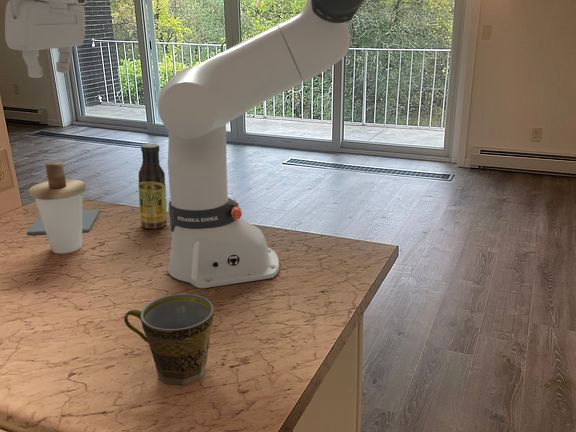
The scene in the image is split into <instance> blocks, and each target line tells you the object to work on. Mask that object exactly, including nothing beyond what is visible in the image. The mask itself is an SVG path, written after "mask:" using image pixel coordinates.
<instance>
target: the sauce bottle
mask: <svg viewBox="0 0 576 432" xmlns="http://www.w3.org/2000/svg"><path fill="white" fill-rule="evenodd" d="M140 148H141V149H140V151H141V154H142V164H141V167H140V169H139V171H138V184H137V185H138V199H139V200H138V201H139V217H140V218H139V220H140V224H141V227H143V228H144V229H149V230H153V229H154V230H155V229H161V228H163V227H165V226H166V224H167V219H168V217H167V216H168V215H167V213H168V212H167V191H166V190H167V189H166V175H165V171H164V169H162V167H161V165H160V156H159V155H160V145H159V144H157V143H144V144H141V147H140Z"/></svg>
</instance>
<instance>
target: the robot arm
mask: <svg viewBox="0 0 576 432" xmlns="http://www.w3.org/2000/svg"><path fill="white" fill-rule="evenodd" d="M364 2H365V0H306V3H305V6H304V7H303V8H302V9H301V10H300V11H299V12H298V13H297V14H295V15H294V16H292V17H290V18H287V20H284V21H281V22H280V23H277V24H276V25H273V26H272V27H270V28H267V29H266V30H264V31H261V32H260V33H257V34H256V35H254V36H251V37H249V38H247V39H245V40H242V41H241V42H239V43H237V44H235V45H233V46H231V47H230V48H229V47H228V49H226V50H224V51H223V52H220V53H218V54H216V55H215V56H212V57H211V58H209V59H207V60H205V61H203V62H201V63H199V64H197V65H195V66H194V65H193V66H188V67H185V68H183V69H181V70H180V71H178V72H177V73H175V75H173V76H172V77H171V78H170V79H169V80H168V81H167V82H166V83H165V84H164V85H163V87H162V88H161V89H160V92H159V96H158V100H157V108H158V109H157V110H158V115H159V118H160V120H161V122H162V124H163V125H164V127H165V128H166V129H167V131H168V148H167V171H168V183H169V199H170V201H168V212H167V213H168V223H169V228H170V231H171V246H170V255H169V259H168V265H167V272H168V274H169V275H170V276H171V277H172V278H174V279H176V280H179V281H182V282H185V283H189V284H191V285H192V286H193V287H195V288H198V289H207V288H212V287H219V286H220V287H221V286H229V285H233V284H239V283H240V284H241V283H246V282H253V281H260V280H266V279H272V278H275V276H276V275H277V274H278V273H279V271H280V261H279V257H278V256H279V255H277V253H276V251H274V249H272V248H271V247H269V246H268V244H267V243H268V242H267V240H266V237H265V236H264V233H263V232H262V230H261V229H259V228H258V227H257V226H255V225H254V224H252V223H250V222H249V221H248V220H245V219H244V218H242V215H243V213H242V209H241V207H239V206H240V205H239V203H238V202H237V200H236V199H235V198H233V199H232V198H229V195H228V194H229V193H228V191H229V190H228V189H229V187H228V170H227V168H228V166H227V165H228V163H227V124H229V123H230V122H231V121H234V120H235V119H238V117H240V116H243V115H244V114H246V113H247V112H249V111H251V110H252V109H254V108H256V107H257V106H259V105H260V104H262V103H264V102H266V101H268V100H270V99H272V98H274V97H277V96H279V95H280V94H283V93H285V92H286V91H290V90H291V89H293V88H296V87H297V86H299V85H301V84H303V83H305V82H307V81H309V80H312V79H313V78H315V77H317V76H319V75H320V74H322V73H323V72H325V71H327V70H328V69H330V68H331V67H332V66H334V65H336V64H337V63H338V62H339V61H341V60H342V59H343V58H344V57H346V56H347V54H348V52H349V50H350V46H351V33H350V29H349V27H348V24H347V23H348V22H350V21H351V20H352V19H353V18H354V17H355V15H356V14H357V12H358V10H359V9H360V8H361V6H362V5H363V4H364ZM86 4H87V0H8V1H7V3H6V7H5V19H4V20H5V22H4V23H5V24H4V28H5V29H4V31H5V32H4V35H5V42H6V44H7V47H8V48H9V49H11V50H16V51H21V52H22V53H21V55H22V58H23V61H24V63H25V64H26V66H27V75H28V77H29V78H33V79H39V78H42V77H43V76H44V75H43V66H40V65H41V64H40V62H39V59H38V58H39V57H40V50H43V51H44V50H52V49H57V52H59V53H58V61H56V62H55V63H56V64H55V65H56V72H57V73H61V74H64V73H69V72H70V62H71V59H72V56H73V47H79V46H80V47H82V45H83V44H84V41H85V36H86V12H85V11H86V10H85V7H84V5H86Z"/></svg>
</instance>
